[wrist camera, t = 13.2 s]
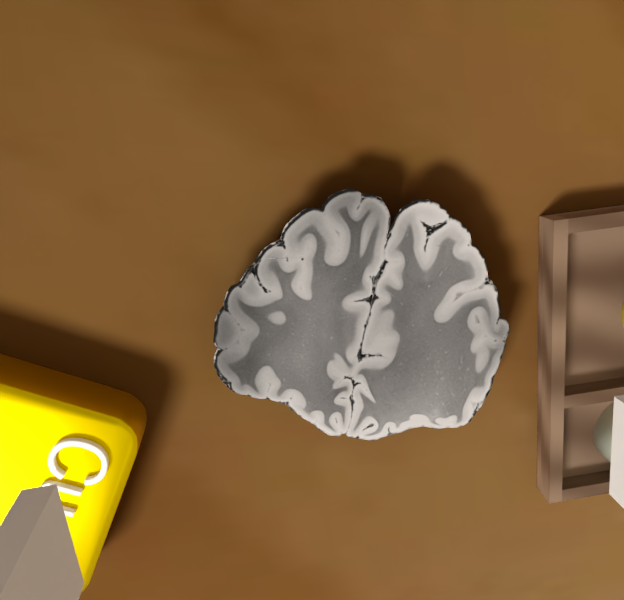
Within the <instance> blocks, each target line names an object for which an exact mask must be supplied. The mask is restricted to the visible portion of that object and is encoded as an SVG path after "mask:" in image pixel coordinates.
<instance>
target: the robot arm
mask: <svg viewBox="0 0 624 600" xmlns="http://www.w3.org/2000/svg"><path fill="white" fill-rule="evenodd" d="M609 494H610V495H611V496H612V497H613V498H614V499H615V500H616V501H617V502H618V503H619V504H620V505H621V506H622V507H623V508H624V395H619V396H614V408H613V427H612V447H611V466H610V485H609ZM83 585H84V580H83V577H82V573H81V570H80V566H79V563H78V559H77V555H76V552H75V548H74V545H73V541H72V538H71V534H70V530H69V527H68V523H67V520H66V516H65V513H64V509H63V506H62V502H61V498H60V495H59V491H58V488H57V484H54V485H48V486H41V487H35V488H29V489H22V490H21V491H20V493H19V494H18V496H17V498H16V499H15V501H14V503H13V504H12V506H11V508H10V509H9V511H8V513H7V515H6V516H5V518H4V520H3V521H2V523H1V525H0V600H79V597H80V594H81V591H82V588H83Z"/></svg>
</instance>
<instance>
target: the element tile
mask: <svg viewBox="0 0 624 600" xmlns="http://www.w3.org/2000/svg"><path fill="white" fill-rule="evenodd" d="M146 422H147V414H146V409H145V407H144V406H143V404H142V402H141V401H140V400H138V399H137V398H136V397H135V396H133V395H132V394H130V393H128V392H125V391H122V390H119V389H116V388H112V387H109V386H106V385H102V384H99V383H96V382H93V381H89V380H86V379H83V378H79V377H76V376H73V375H69V374H66V373H63V372H60V371H56V370H53V369H50V368H46V367H43V366H40V365H37V364H33V363H30V362H27V361H23V360H20V359H17V358H14V357H10V356H7V355H4V354H0V525H1V523H2V521H3V520H4V518H5V516H6V515H7V513H8V511H9V509H10V508H11V506H12V504H13V503H14V501H15V499H16V498H17V496H18V494H19V493H20V491H21V490H22V489H29V488H35V487H41V486H48V485H54V484H57V488H58V491H59V495H60V498H61V502H62V506H63V509H64V513H65V516H66V520H67V523H68V527H69V530H70V534H71V538H72V541H73V545H74V548H75V552H76V555H77V559H78V563H79V566H80V570H81V573H82V577H83V580H84V585H83V588H82V591H81V593H82V592H83V591H84V590H85V589H86V588H87V586H88V584H89V583H90V581H91V578H92V575H93V572H94V570H95V567H96V564H97V562H98V559H99V556H100V553H101V551H102V548H103V545H104V543H105V540H106V537H107V535H108V532H109V529H110V526H111V524H112V521H113V518H114V516H115V513H116V510H117V507H118V505H119V502H120V499H121V497H122V494H123V491H124V488H125V486H126V483H127V480H128V478H129V475H130V472H131V469H132V467H133V464H134V461H135V459H136V456H137V453H138V450H139V447H140V443H141V440H142V437H143V434H144V431H145V428H146Z"/></svg>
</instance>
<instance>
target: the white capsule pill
mask: <svg viewBox="0 0 624 600" xmlns="http://www.w3.org/2000/svg"><path fill="white" fill-rule="evenodd" d="M613 408H614V402H613V403H612V404H610V405H609V406H608V407H607V408H606V409H605V410H604V411H603V412H602V413H601V414H600V416H599V417H598V419H597V421H596V424H595V427H594V432H593V439H594V443H595V446H596V448H597V450H598V451H599V452H600V453H601V454H602V455H603V456H604V457H605V458H606V459H607V460H608V461H610V462H611V447H612V427H613Z"/></svg>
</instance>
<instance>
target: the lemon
mask: <svg viewBox="0 0 624 600" xmlns="http://www.w3.org/2000/svg"><path fill="white" fill-rule="evenodd" d="M621 318H622V323H623V327H624V301H623V304H622V308H621Z"/></svg>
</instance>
